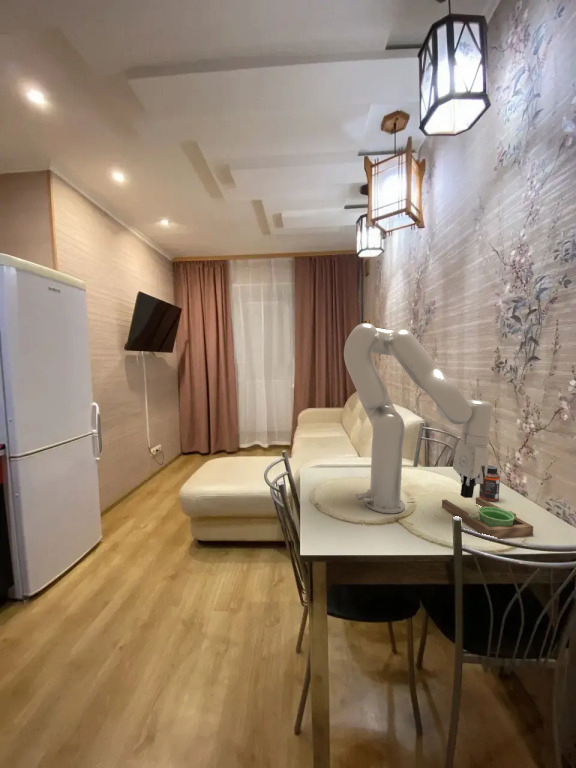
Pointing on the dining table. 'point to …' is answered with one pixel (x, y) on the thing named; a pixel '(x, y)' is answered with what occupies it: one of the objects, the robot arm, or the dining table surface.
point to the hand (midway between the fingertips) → (466, 496)
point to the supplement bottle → (490, 485)
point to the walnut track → (500, 532)
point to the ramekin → (495, 517)
